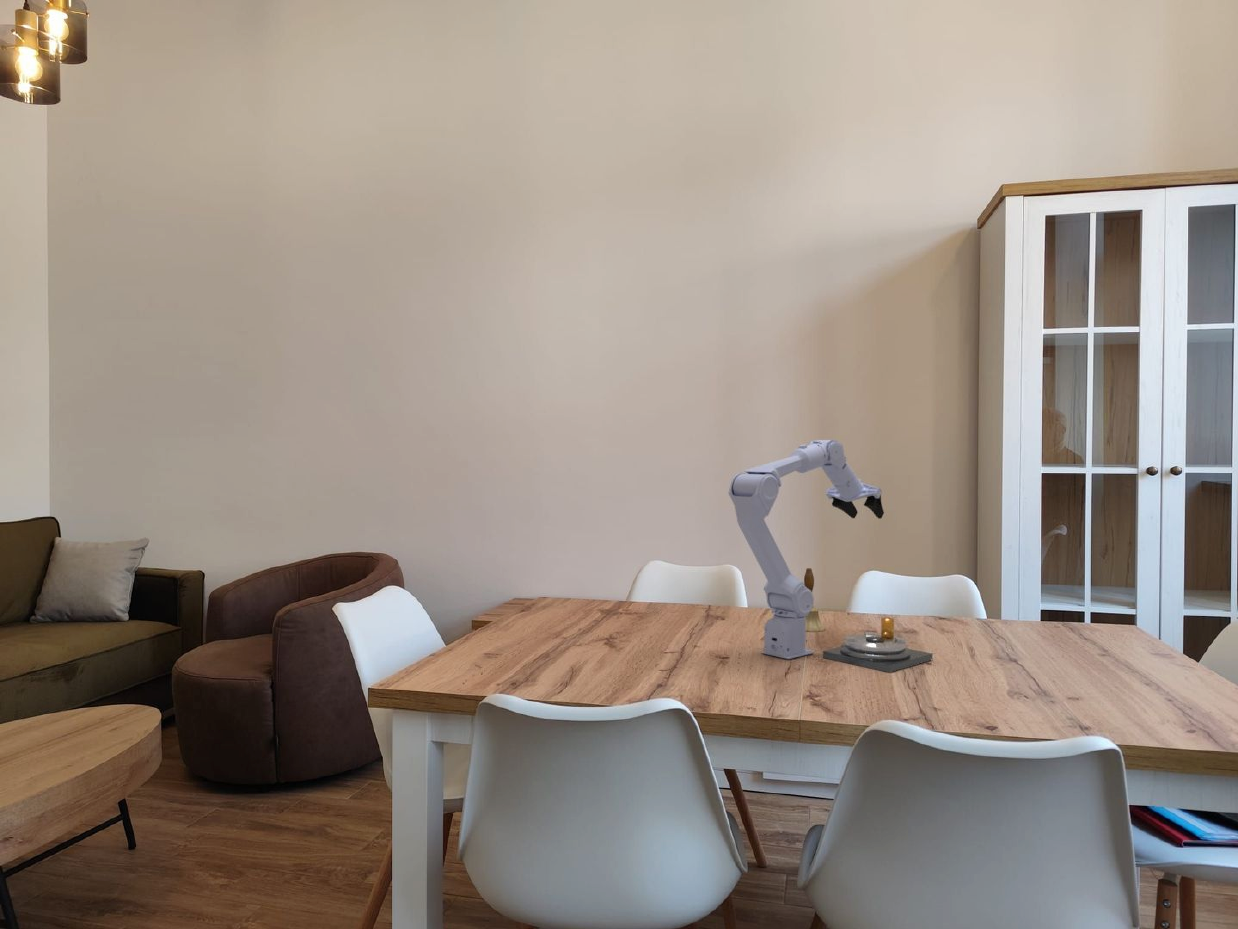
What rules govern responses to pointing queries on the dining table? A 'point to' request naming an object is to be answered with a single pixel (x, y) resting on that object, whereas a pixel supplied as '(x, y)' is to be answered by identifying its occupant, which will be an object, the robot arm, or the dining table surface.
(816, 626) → the hand bell
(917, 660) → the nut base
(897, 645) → the grey crank wheel
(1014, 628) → the dining table surface
